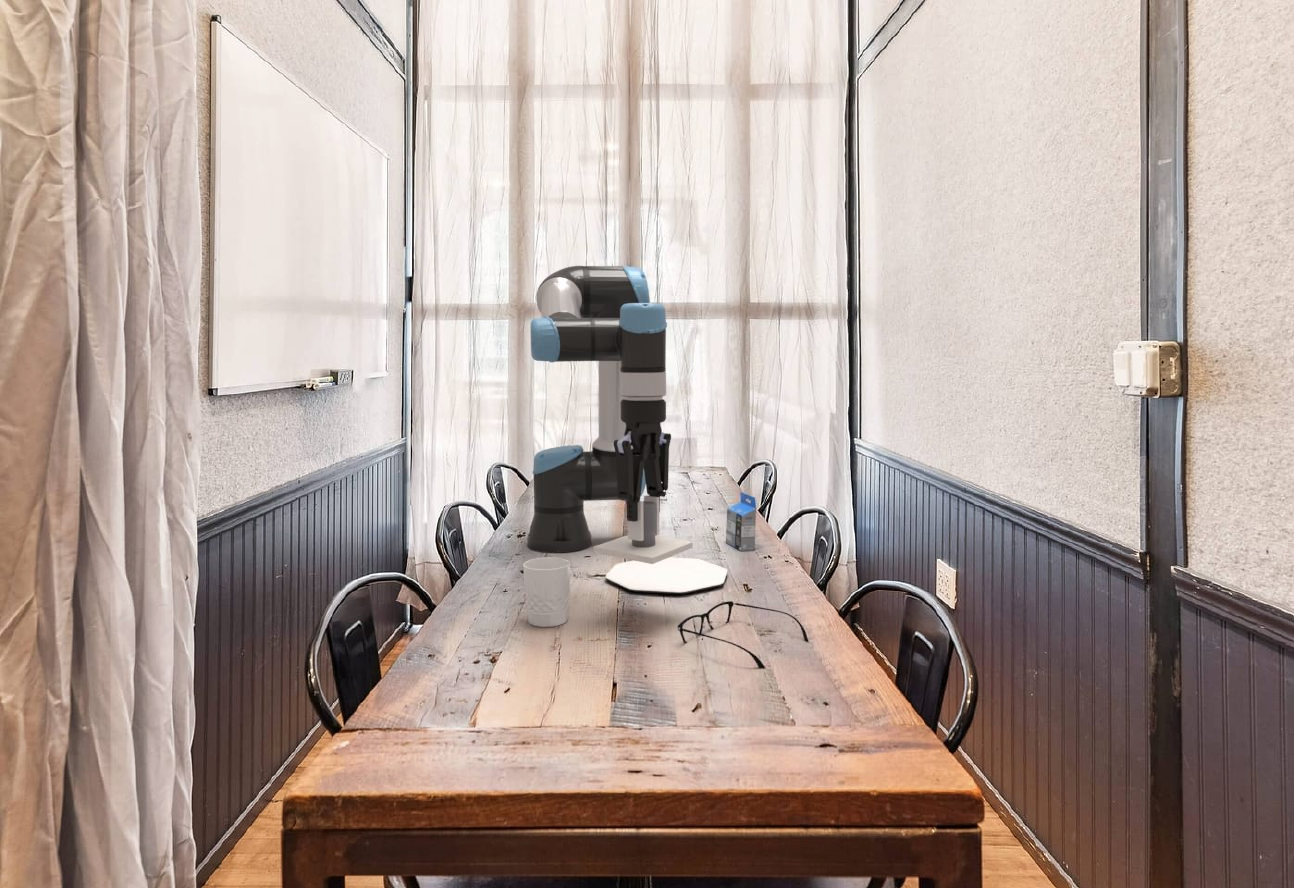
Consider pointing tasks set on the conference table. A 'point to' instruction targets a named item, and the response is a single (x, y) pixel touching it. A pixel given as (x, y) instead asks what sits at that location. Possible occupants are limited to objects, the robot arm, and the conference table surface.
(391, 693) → the conference table surface
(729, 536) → the label tape box
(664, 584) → the plate
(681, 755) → the conference table surface
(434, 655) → the conference table surface
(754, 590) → the conference table surface
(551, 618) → the white cup
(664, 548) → the lid
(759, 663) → the eyeglasses
